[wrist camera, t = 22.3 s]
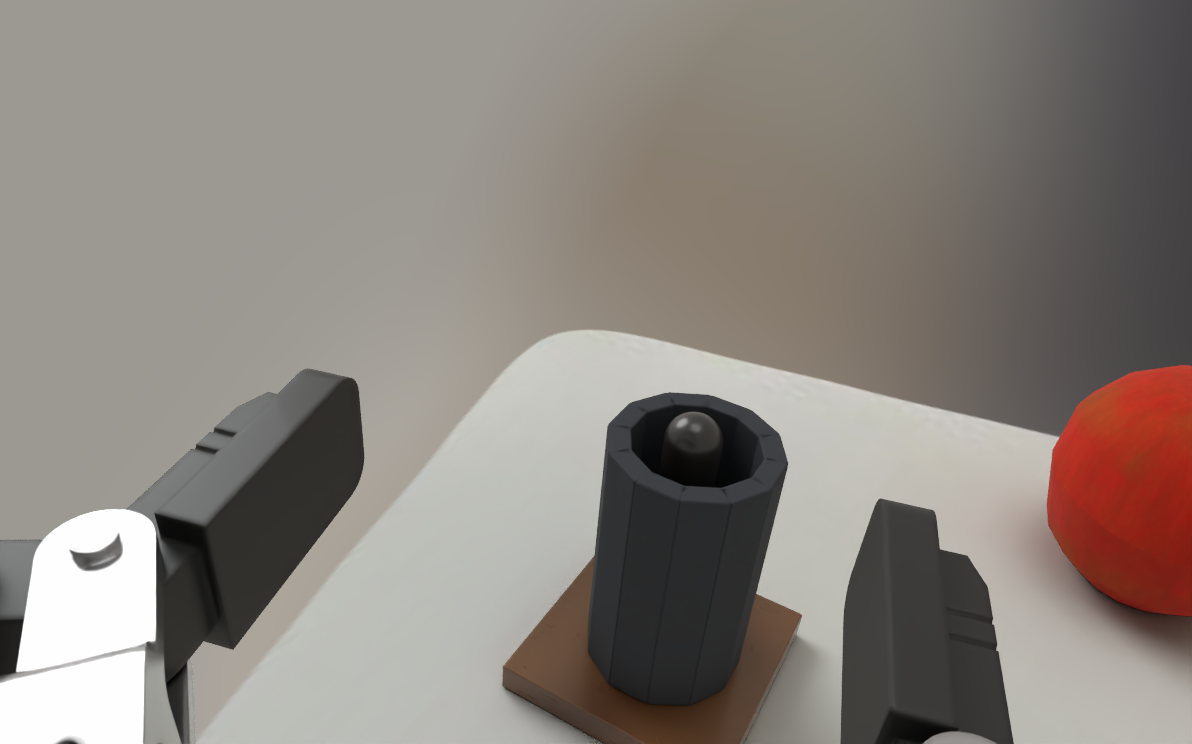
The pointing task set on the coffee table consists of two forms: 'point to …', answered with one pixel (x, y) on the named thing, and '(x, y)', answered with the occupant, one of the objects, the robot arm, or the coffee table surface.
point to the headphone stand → (625, 724)
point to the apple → (1129, 490)
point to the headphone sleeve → (679, 552)
